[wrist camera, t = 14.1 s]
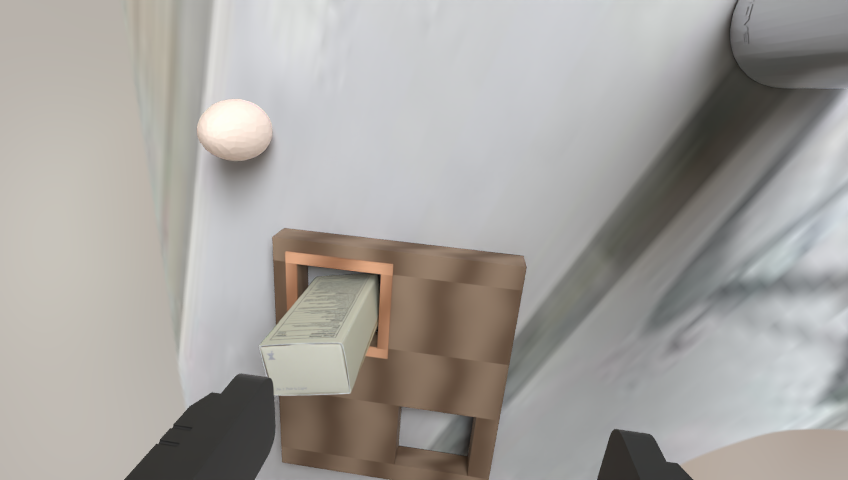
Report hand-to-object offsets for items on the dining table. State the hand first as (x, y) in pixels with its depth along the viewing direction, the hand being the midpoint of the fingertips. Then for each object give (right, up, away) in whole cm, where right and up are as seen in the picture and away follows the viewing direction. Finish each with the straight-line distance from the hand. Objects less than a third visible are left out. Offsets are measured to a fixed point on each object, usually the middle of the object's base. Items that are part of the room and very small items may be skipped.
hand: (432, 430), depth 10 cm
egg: (-14, +14, +27) cm, 34 cm away
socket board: (-3, -8, +33) cm, 34 cm away
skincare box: (-7, -1, +31) cm, 32 cm away
